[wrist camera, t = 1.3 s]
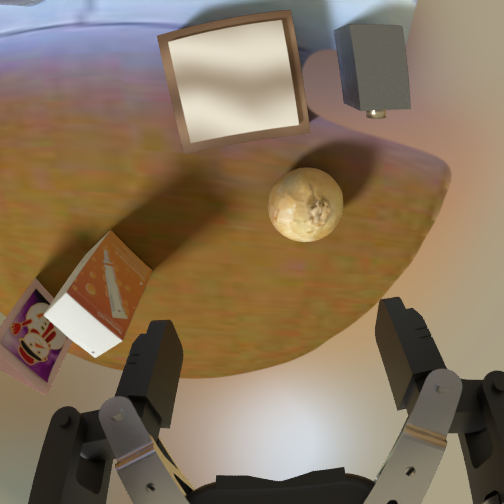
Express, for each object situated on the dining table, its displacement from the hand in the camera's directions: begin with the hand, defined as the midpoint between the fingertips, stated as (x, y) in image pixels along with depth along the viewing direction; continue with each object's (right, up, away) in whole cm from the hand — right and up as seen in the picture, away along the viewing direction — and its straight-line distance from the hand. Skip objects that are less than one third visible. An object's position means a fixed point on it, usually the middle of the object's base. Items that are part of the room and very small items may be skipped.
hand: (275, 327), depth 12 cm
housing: (+10, +22, +16) cm, 29 cm away
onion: (+5, +9, +24) cm, 26 cm away
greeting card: (-35, -7, +35) cm, 50 cm away
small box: (-19, +2, +29) cm, 35 cm away
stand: (-2, +20, +17) cm, 27 cm away
